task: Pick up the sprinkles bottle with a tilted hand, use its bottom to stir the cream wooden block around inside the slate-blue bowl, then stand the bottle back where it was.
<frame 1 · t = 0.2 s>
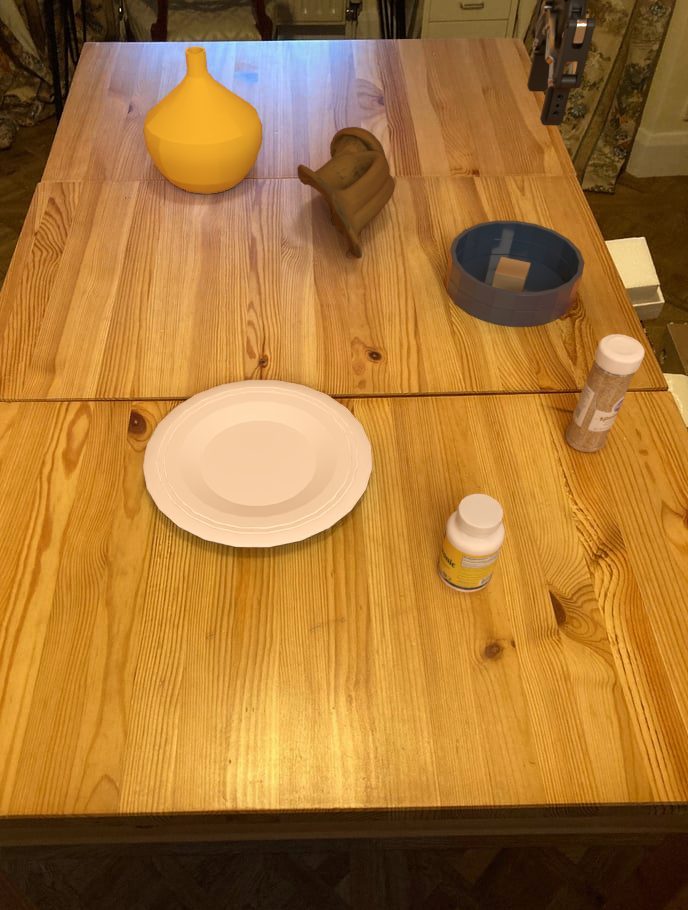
hand: (543, 106, 83), 26 cm above the table, tool pointing down, fingers open, 8 cm apart
bowl: (508, 291, 106), on the table
supplement bottle: (463, 572, 76), on the table
brown looped sculpture: (345, 224, 117), on the table
vase: (208, 180, 125), on the table
plate: (258, 467, 85), on the table
block: (506, 293, 105), point 1 cm above the table, touching bowl
sprinkles bottle: (583, 440, 88), on the table
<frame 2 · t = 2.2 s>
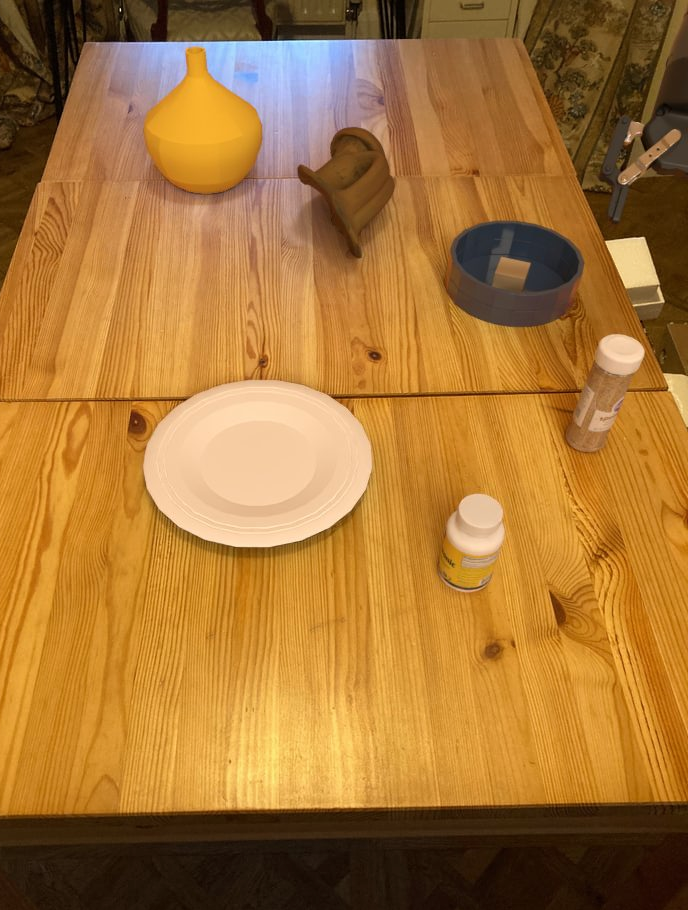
hand: (655, 234, 79), 20 cm above the table, tool tilted 45°, fingers open, 8 cm apart
nothing on the table moved.
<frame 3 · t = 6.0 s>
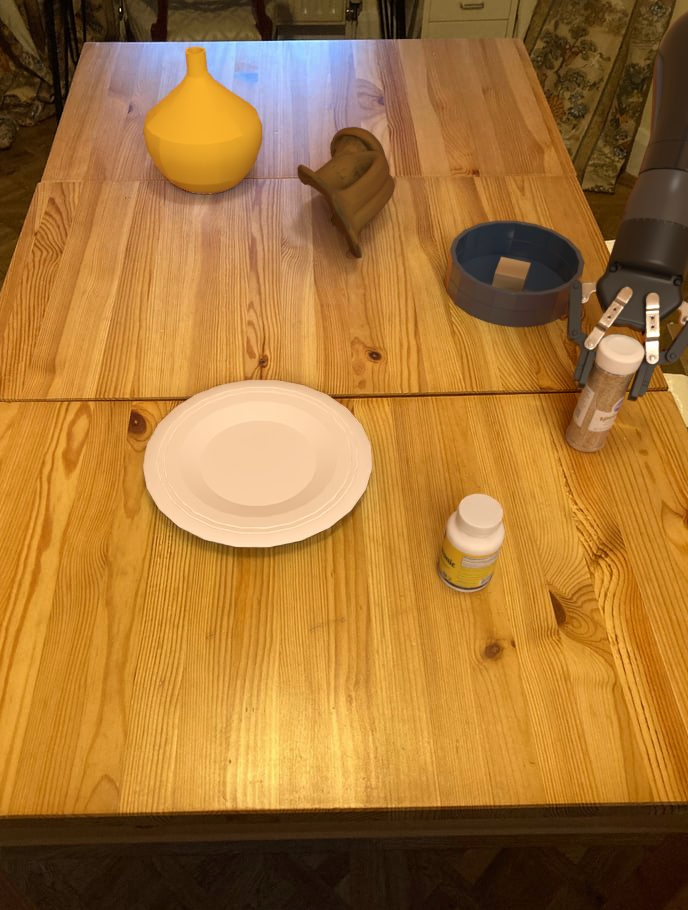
hand: (606, 393, 79), 9 cm above the table, tool tilted 45°, fingers closed on sprinkles bottle, 4 cm apart
sprinkles bottle: (583, 440, 88), on the table, touching gripper
everything else where it was.
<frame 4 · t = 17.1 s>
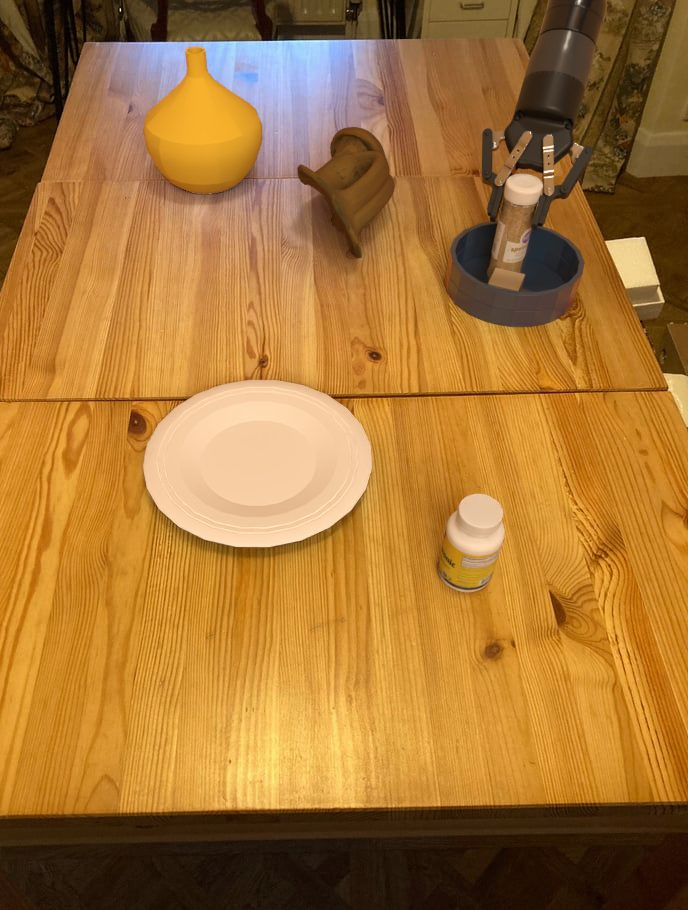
hand: (513, 223, 96), 11 cm above the table, tool tilted 45°, fingers closed on sprinkles bottle, 4 cm apart
block: (500, 304, 103), point 1 cm above the table, touching bowl
sprinkles bottle: (502, 276, 105), point 2 cm above the table, touching gripper
everything else where it was.
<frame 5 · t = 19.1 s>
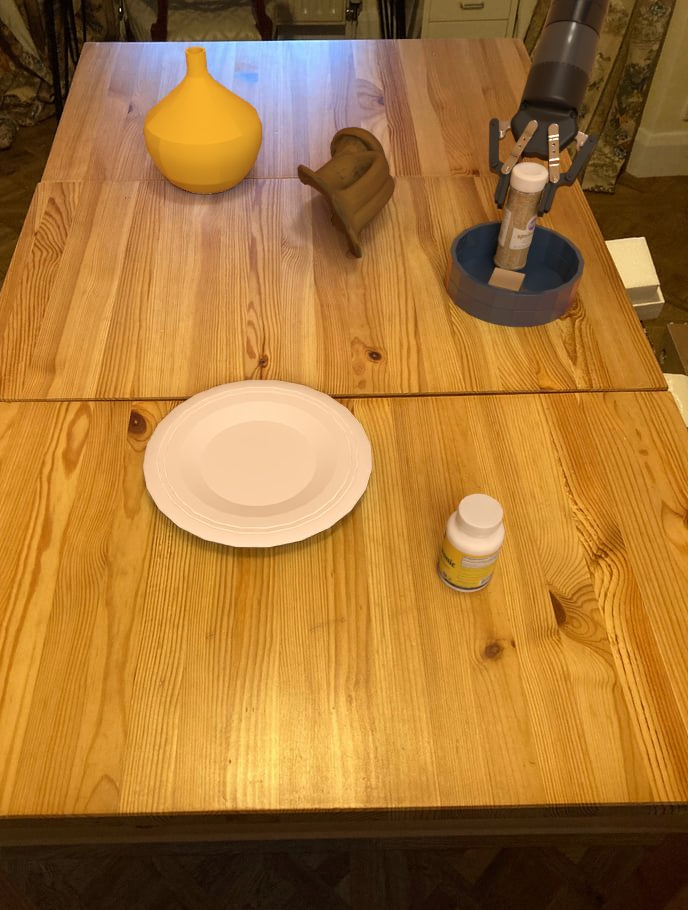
hand: (520, 211, 99), 11 cm above the table, tool tilted 45°, fingers closed on sprinkles bottle, 4 cm apart
sprinkles bottle: (509, 263, 107), point 2 cm above the table, touching gripper
everything else where it was.
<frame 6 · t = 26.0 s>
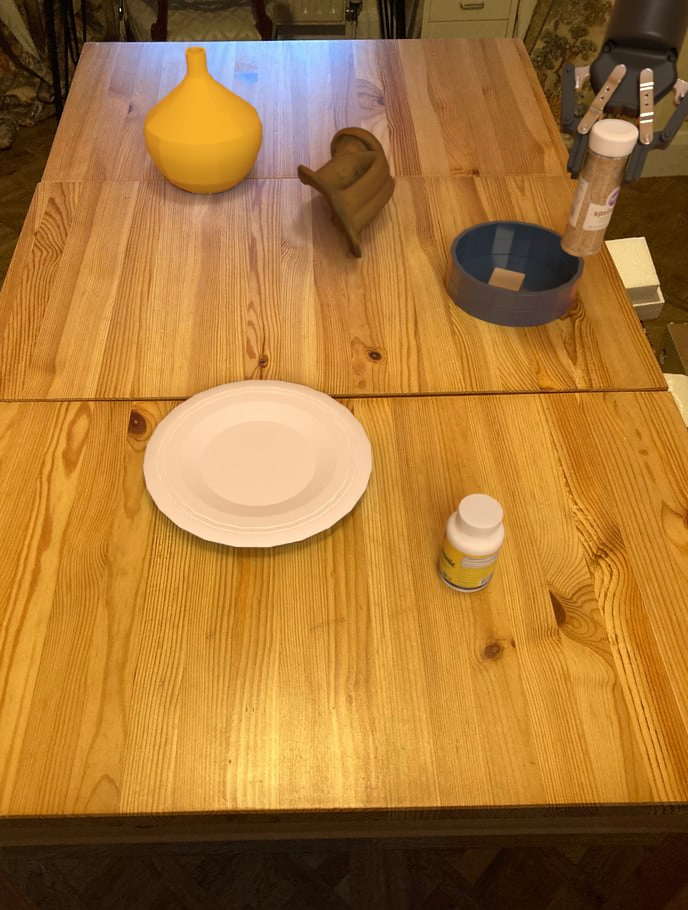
hand: (600, 180, 78), 24 cm above the table, tool tilted 45°, fingers closed on sprinkles bottle, 4 cm apart
sprinkles bottle: (579, 248, 87), point 14 cm above the table, touching gripper
everything else where it was.
when the fingers open (9 cm above the table, at t = 32.4 s): sprinkles bottle stays where it is, on the table.
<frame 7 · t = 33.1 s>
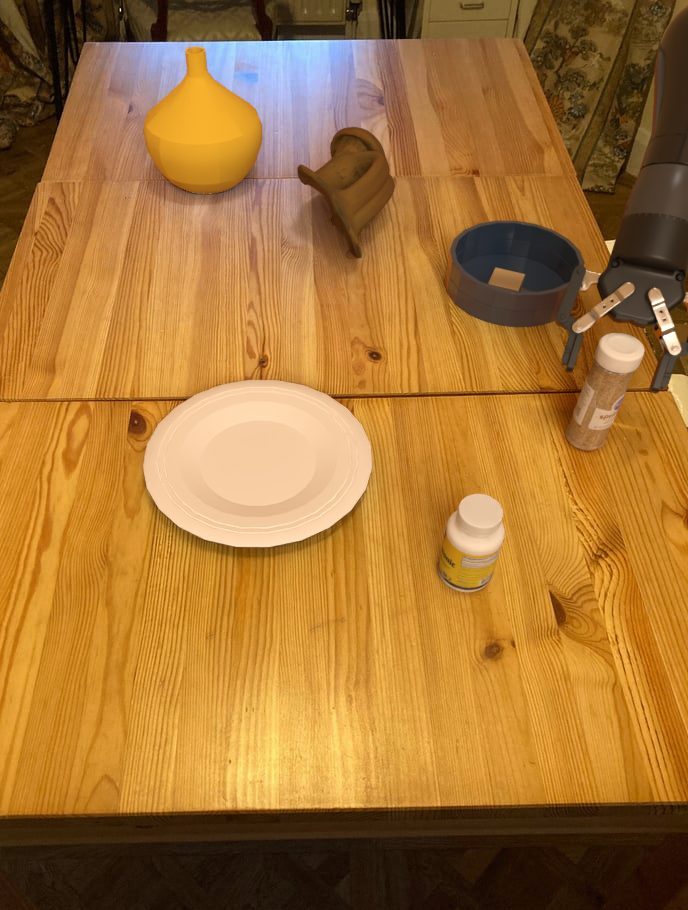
hand: (610, 381, 79), 10 cm above the table, tool tilted 45°, fingers open, 8 cm apart
sprinkles bottle: (583, 439, 88), on the table
everything else where it was.
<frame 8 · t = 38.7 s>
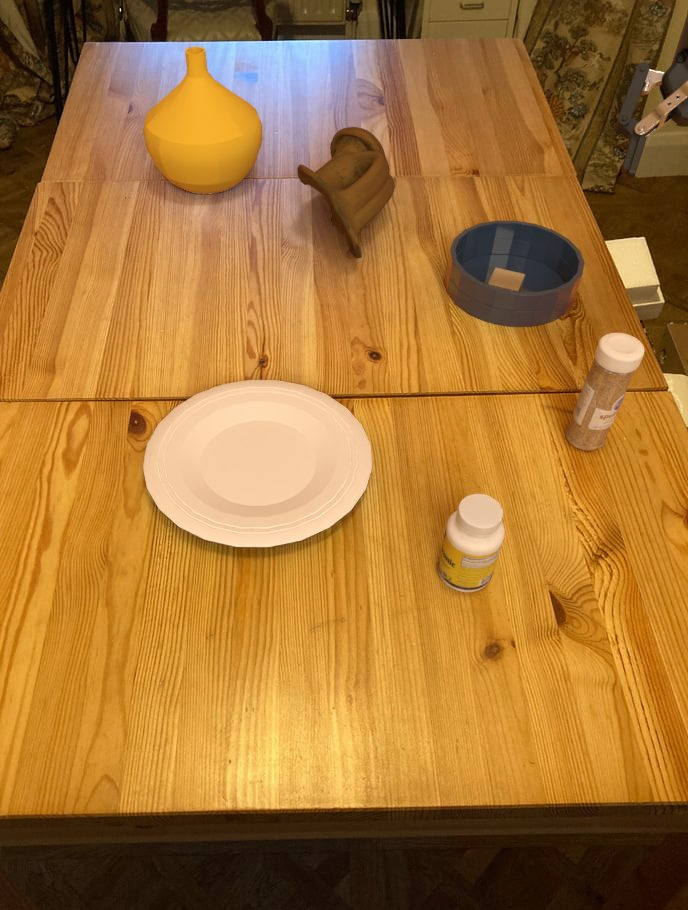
hand: (674, 187, 75), 25 cm above the table, tool tilted 45°, fingers open, 8 cm apart
nothing on the table moved.
at the end: block moved 2.8 cm from its start; block inside the target area in the bowl (4.3 cm from its centre), point 0.6 cm above the bowl's base; sprinkles bottle tilted 0° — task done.
